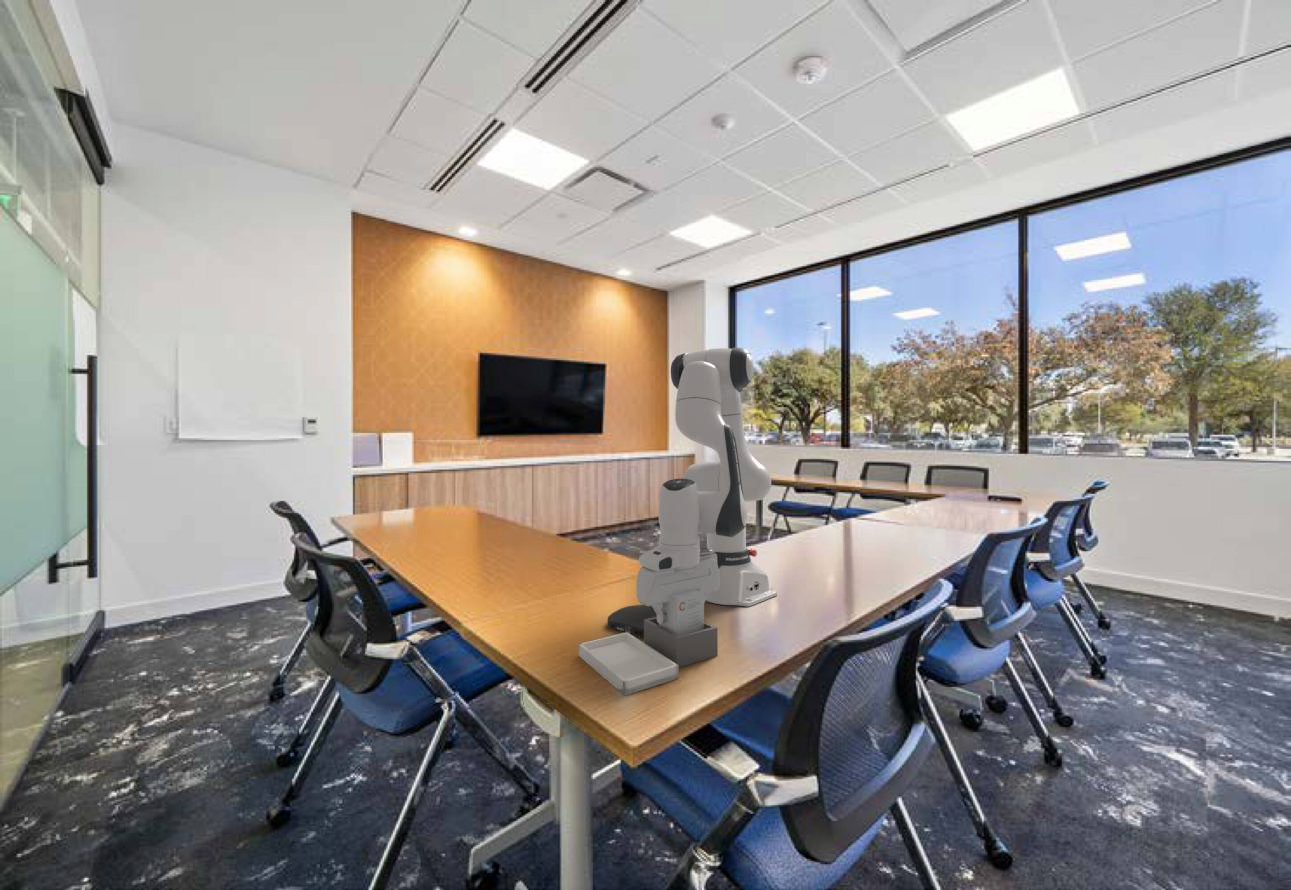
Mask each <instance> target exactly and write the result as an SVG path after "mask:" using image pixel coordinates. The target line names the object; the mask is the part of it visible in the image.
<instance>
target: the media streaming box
mask: <svg viewBox="0 0 1291 890" xmlns="http://www.w3.org/2000/svg"><path fill="white" fill-rule="evenodd" d="M653 617H657V614H656V612H655V611H654V609H653V607H652V606H645V605H643V604H636V605H628V606H624V607H622V608H619V609H617V610H616V611H614V612H612V613H611V614H610V615H609V616H607V628H608V629H609V630H611V631H615V632H617V633H620V634H621V633H625V632H628V633H629V634H631V635H632V636H634V637H636V638H642V639H644V620H645V619H649V618H653Z"/></svg>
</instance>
